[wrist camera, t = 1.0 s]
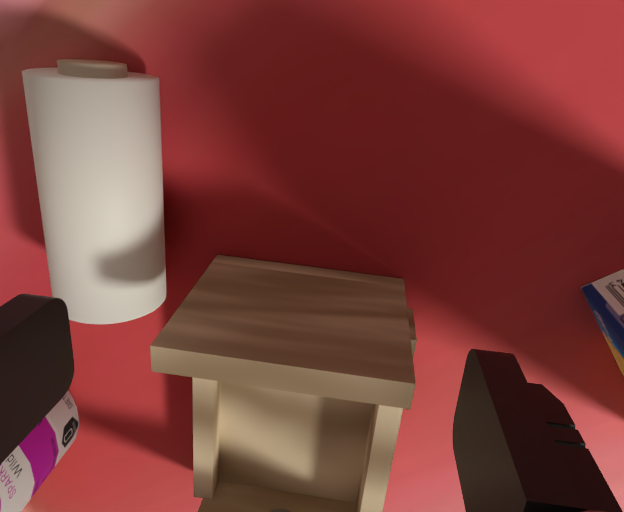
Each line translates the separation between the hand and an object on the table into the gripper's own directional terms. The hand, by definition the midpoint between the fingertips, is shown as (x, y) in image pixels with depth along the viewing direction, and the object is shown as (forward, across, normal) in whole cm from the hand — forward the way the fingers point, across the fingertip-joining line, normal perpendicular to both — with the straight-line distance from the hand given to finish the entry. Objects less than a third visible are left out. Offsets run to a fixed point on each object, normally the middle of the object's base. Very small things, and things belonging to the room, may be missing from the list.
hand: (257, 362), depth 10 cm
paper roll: (+17, +11, +1) cm, 20 cm away
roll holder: (+17, +1, +13) cm, 22 cm away
